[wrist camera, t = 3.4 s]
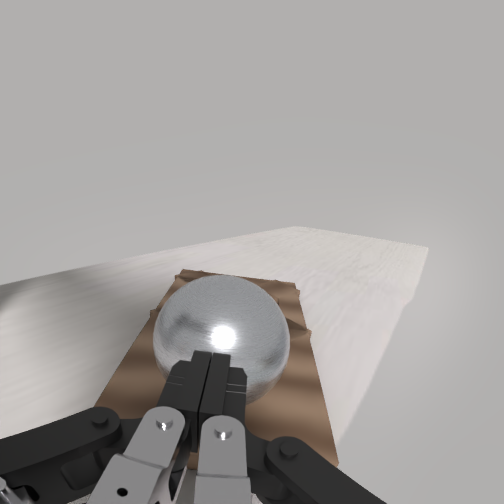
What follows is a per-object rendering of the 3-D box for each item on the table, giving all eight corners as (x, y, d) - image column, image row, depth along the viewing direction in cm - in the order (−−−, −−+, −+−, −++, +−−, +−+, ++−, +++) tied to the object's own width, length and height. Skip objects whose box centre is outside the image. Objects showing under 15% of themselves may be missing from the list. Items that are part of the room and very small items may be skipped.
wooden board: (337, 477, 18) (346, 463, 17) (82, 440, 17) (76, 424, 17) (295, 293, 51) (297, 282, 50) (179, 279, 51) (180, 267, 50)
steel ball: (130, 390, 22) (121, 275, 19) (207, 344, 30) (214, 249, 27) (233, 458, 17) (252, 337, 14) (297, 385, 25) (322, 281, 23)
